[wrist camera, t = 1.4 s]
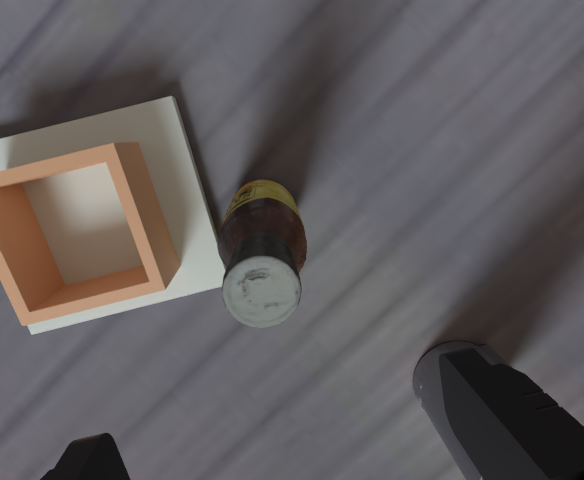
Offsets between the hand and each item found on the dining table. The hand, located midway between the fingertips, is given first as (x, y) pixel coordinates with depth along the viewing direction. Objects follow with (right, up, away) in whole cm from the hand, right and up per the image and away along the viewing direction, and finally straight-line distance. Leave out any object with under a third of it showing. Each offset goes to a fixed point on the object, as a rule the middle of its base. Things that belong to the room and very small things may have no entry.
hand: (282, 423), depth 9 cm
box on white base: (-18, +6, +28) cm, 34 cm away
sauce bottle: (-3, +7, +29) cm, 30 cm away
